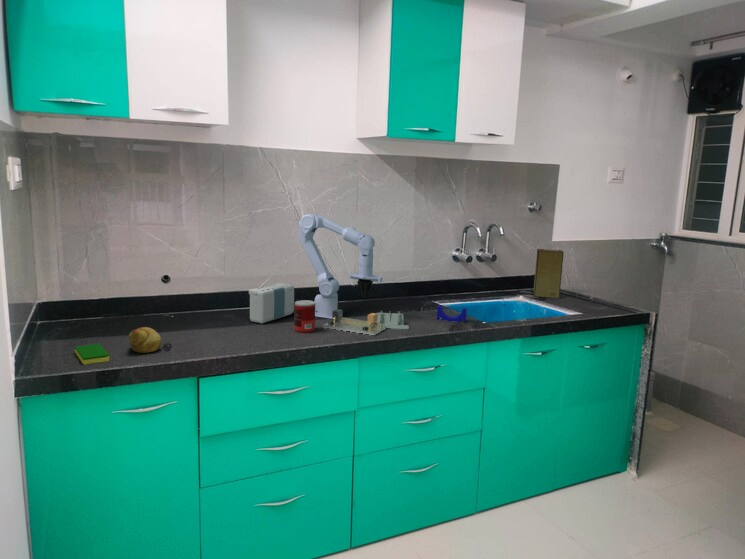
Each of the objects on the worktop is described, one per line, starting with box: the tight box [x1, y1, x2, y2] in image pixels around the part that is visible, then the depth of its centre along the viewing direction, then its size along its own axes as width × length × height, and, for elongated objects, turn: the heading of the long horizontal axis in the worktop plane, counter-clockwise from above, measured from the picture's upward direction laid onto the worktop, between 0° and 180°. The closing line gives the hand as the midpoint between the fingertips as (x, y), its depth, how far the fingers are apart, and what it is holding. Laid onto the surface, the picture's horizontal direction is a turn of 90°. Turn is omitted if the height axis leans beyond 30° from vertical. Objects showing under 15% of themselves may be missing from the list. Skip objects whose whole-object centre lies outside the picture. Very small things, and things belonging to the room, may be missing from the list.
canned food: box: [293, 299, 316, 334], centre depth 211 cm, size 8×8×11 cm
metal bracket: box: [376, 311, 409, 330], centre depth 225 cm, size 14×6×15 cm
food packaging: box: [532, 248, 564, 300], centre depth 297 cm, size 13×9×25 cm
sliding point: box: [367, 312, 378, 327], centre depth 216 cm, size 2×5×4 cm, turn 156°
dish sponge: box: [74, 343, 110, 366], centre depth 172 cm, size 7×14×2 cm, turn 37°
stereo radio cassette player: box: [248, 267, 295, 325], centre depth 226 cm, size 21×8×20 cm, turn 152°
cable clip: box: [436, 304, 468, 323], centre depth 236 cm, size 12×4×6 cm, turn 73°
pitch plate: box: [322, 308, 387, 336], centre depth 217 cm, size 22×12×6 cm, turn 66°
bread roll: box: [128, 326, 162, 354], centre depth 181 cm, size 13×10×8 cm
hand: (364, 297), depth 231 cm, fingers closed
